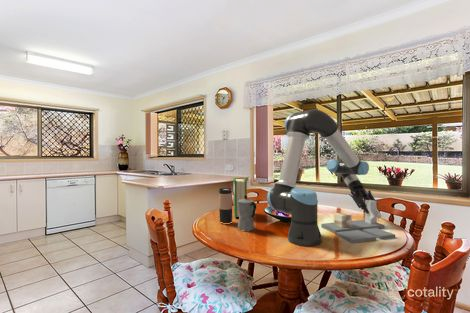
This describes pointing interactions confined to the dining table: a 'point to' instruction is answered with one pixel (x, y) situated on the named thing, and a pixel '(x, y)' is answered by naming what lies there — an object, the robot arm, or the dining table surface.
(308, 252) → the dining table surface
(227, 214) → the travel mug
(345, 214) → the birch cube
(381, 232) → the broken strip
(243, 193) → the hardback book
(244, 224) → the coffeepot
